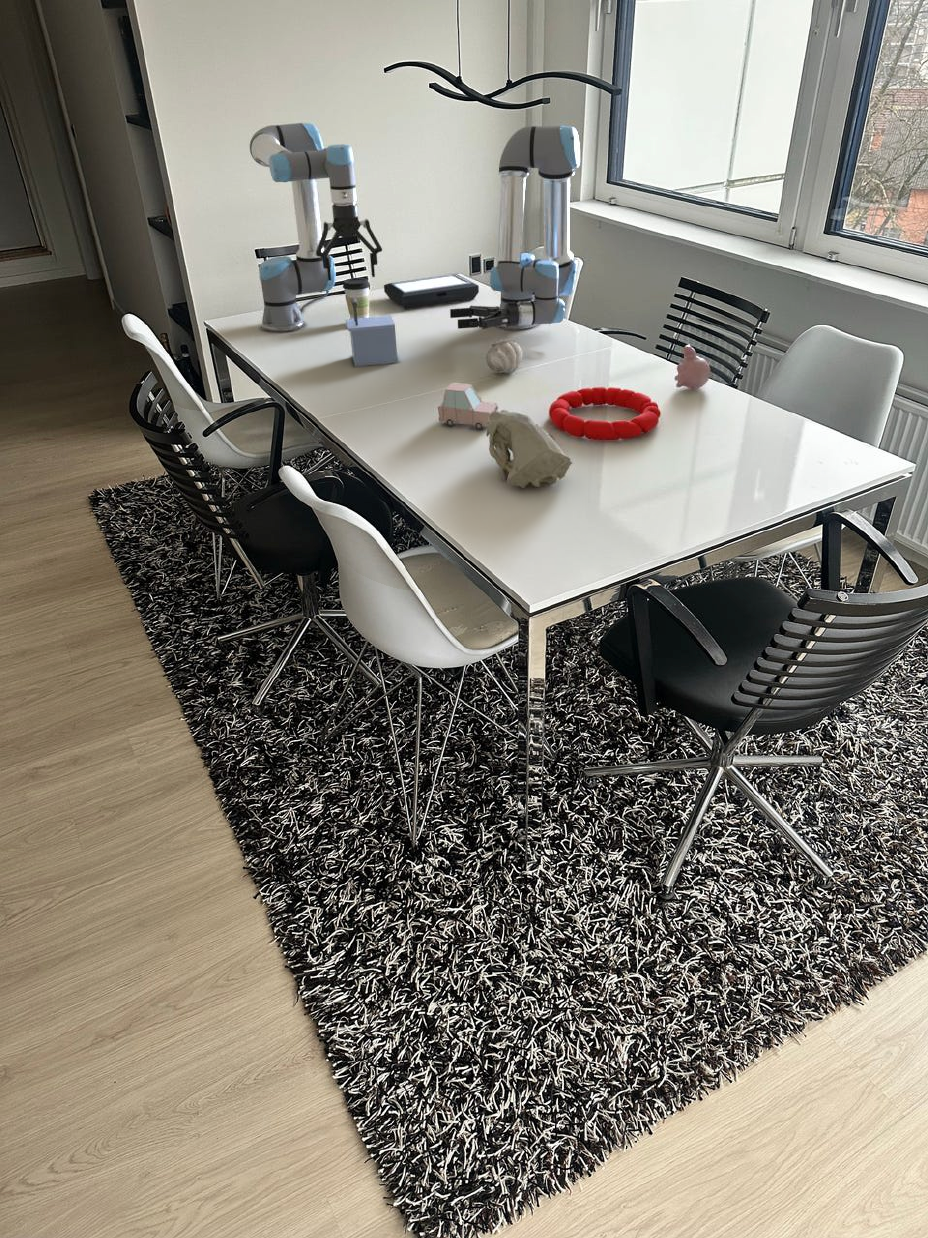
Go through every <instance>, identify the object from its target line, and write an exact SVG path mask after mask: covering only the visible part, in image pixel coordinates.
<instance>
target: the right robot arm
mask: <svg viewBox="0 0 928 1238" xmlns="http://www.w3.org/2000/svg"><path fill="white" fill-rule="evenodd" d="M580 149H581V147H580V139H579V133H578V131H577V129H576V128H575V127H574V126H569V125H567V126H566V125H563V124H561V125H538V126H537V125H535V126H534V125H527V126H523V127H522V128H520V129H518V130H516V131H515V133H513V134H512V135H511V136H510V138H509V139H508V141H507V142H506V143H505V146H504V148H503V149H502V152H501V156H500V158H499V163H498V176H499V177H500V179H501V185H500V186H501V187H500V203H499V204H500V206H499V226H498V227H499V228H498V230H499V231H498V247H497V248H498V249H497V265H496V266H493V267H491V269H490V275H489V285H490V288H491V290H492V291H493V292H500V304H499V306H498V305H497V306H487V305H486V306H485V305H470V306H469V307H461V308H449V315H450V316H449V318H450V319H457V318H458V319H457V329H458V330H460V329H461V330H462V329H472V328H473V329H474V328H480V329H481V330H485V329H490V328H494V327H498V328H501V329H505V330H512V331H516V330H517V331H519V330H520V331H521V330H528V329H533V328H535V327H537V326H538V325H552V324H559V323H561V322H563V321H564V319H565V316H566V315H565V314H566V309H565V302H564V301H563V299H561V298H559V297H561V296H570V295H571V294H572V293H573V292H574V289H575V283H576V276H577V272H578V267H579V265H578V264H579V260H577V259H574V253H573V252H572V251H571V250H570V206H571V204H570V201H571V199H570V198H571V189H570V188H571V178H572V177H573V176H574V175H575V173H576V170H577V169H579V166H580V164H581V150H580ZM530 169H538V171H537V173H538V177H539V178H541V179H542V199H543V200H542V203H543V204H542V207H543V208H542V209H543V211H542V212H543V213H542V214H543V216H542V217H543V251H542V252H541V253H540V254H539V258H535V255H534V254H533V253H527V252H526V253H522V247H523V231H524V230H523V228H524V211H525V191H526V179H527V178H528V177H529V176H530ZM459 318H460V319H459ZM461 318H462V319H461Z"/></svg>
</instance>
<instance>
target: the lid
mask: <svg viewBox="0 0 928 1238" xmlns="http://www.w3.org/2000/svg"><path fill="white" fill-rule="evenodd" d="M351 303H352V306H353V313H354V319H351V318H346V319H345V325H346V327H347V331H348V332H349V333H350V331H361V330H373V329H384V328H395V329H396V324H395V322H394V320H393V317H392V315H383V316H372V317H371V316H369V317H368V318H358V319H357V310H356V307H357V305H358V304H357V301H356V299H355V298H351Z"/></svg>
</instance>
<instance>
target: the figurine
mask: <svg viewBox="0 0 928 1238" xmlns="http://www.w3.org/2000/svg"><path fill="white" fill-rule="evenodd" d="M682 354H683V358H684V359H683V361H682V362H679V363H678V364H677V365H676V372H677V375H675V376H674V381H675V382H676V381H677V382H676V384H675V386H676V388H681V387H686V388H688V389H693V390H694V389H695V390H696V389H700V388H703V387H704V386H705V385H706V384H707V383H708V382H709V379H710V377H711V367H710V364H709V362H708V361H706V359H704V358H702V357H700V356H697V353H696V350H695V349H694V347H692V345H690V344H686V345H685V346H684V347H683V348H682Z"/></svg>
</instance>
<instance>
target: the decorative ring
mask: <svg viewBox="0 0 928 1238" xmlns="http://www.w3.org/2000/svg"><path fill="white" fill-rule="evenodd" d="M583 405H584V406H586V407H587V406H591V405H593V406H604V405H608V406H614V407H619V408H624V409H628V410H632V411H635V412H636V413H638V414H639V415H637V416H635V417H632V418H631V419H630V420H625V419H624V420H623V419H622V420H614V421H611V422H609V421H607V420H606V421H605V420H593V419H587V420H586V421H585V419H584V418H582V417H579V416H577V415H573V414H571V413H570V410H571V409H579V408H581V407H582V406H583ZM548 416H549V419H550V422H551V423H552V425H553V426H554V427H555V428H556V429H558V430H559V431H561V432H563V433H567V434H568V435H569V436H573V437H576V438H580V439H582V438H583V437H585V438H586V439H587V440H591V441H601V442H602V441H603V442H608V441H609V442H610V441H611V442H612V441H615V442H616V441H618V440H630V439H634V438H638V437H641V436H642V434H647V433H650V432H651V431H653V430H654V429H655V428H656V427H657V426H658V424H659V422H660V421H659V420H660V417H661V410H660V408H659V405H658V403H657V402H656V401H652V399H651V397H649V396H648V395H646V394H644V393H642V392H635V391H634V390H632V389H628V388H624V389H622V388H620V387H613V386H612V387H611V386H610V387H608V388H606V387H604V386H594V387H585V388H584V387H583V388H580V389H578V390H571V391H568V392H565V393H563V394H561V395H560V396H558V397H557V398H556V400H554V401H552V403H551V404H550V407H549V409H548Z"/></svg>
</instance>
